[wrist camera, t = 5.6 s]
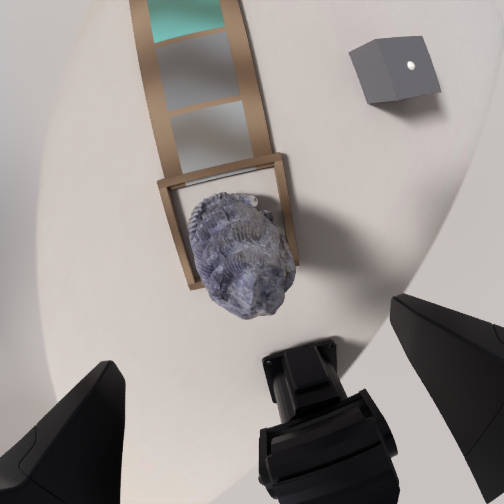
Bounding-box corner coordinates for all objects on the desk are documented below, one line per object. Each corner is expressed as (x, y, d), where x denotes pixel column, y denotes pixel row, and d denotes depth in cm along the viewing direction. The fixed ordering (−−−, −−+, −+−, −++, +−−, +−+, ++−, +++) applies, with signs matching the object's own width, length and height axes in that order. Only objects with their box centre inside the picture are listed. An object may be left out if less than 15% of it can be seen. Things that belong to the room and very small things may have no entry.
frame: (297, 262, 22) (299, 265, 21) (190, 286, 21) (190, 290, 21) (278, 152, 18) (280, 152, 18) (158, 180, 18) (156, 181, 18)
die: (409, 94, 17) (445, 91, 14) (366, 103, 18) (399, 100, 14) (392, 44, 16) (424, 32, 12) (347, 50, 16) (375, 35, 12)
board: (273, 165, 19) (274, 165, 18) (168, 189, 18) (168, 190, 18) (229, -27, 13) (230, -29, 13) (129, -3, 13) (128, -5, 12)
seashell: (265, 177, 19) (312, 220, 10) (274, 252, 21) (316, 343, 12) (185, 190, 19) (155, 246, 9) (200, 264, 21) (191, 364, 12)
